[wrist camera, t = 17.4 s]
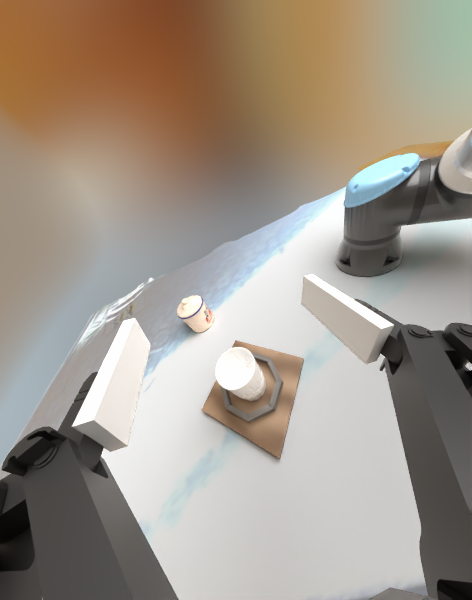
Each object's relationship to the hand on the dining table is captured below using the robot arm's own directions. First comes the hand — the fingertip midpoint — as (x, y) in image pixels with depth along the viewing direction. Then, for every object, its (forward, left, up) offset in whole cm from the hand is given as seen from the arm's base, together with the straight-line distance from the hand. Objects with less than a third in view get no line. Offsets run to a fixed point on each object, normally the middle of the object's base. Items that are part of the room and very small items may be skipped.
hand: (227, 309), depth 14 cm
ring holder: (-1, -9, -31) cm, 32 cm away
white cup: (-1, -9, -30) cm, 31 cm away
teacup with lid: (-15, -35, -31) cm, 49 cm away
